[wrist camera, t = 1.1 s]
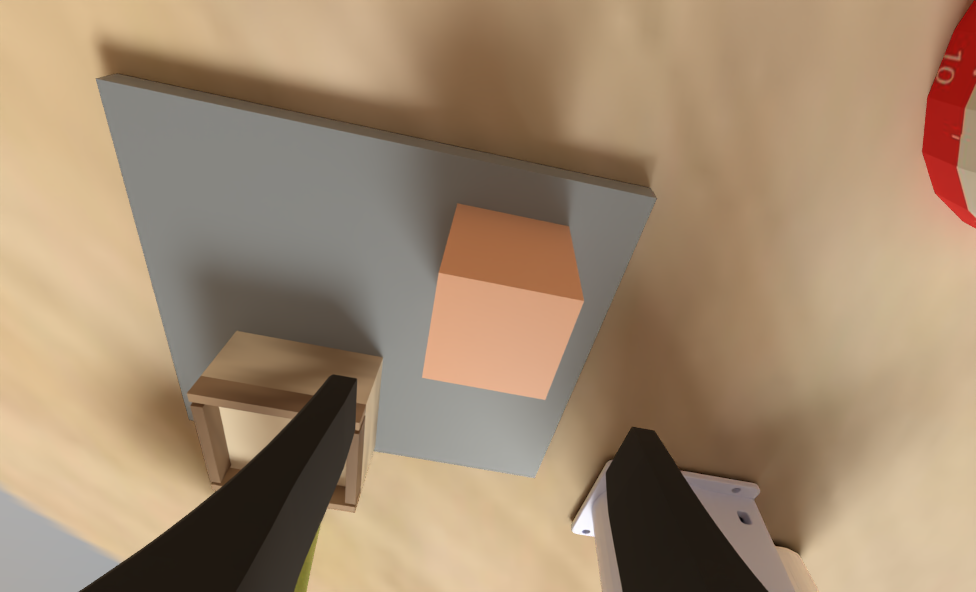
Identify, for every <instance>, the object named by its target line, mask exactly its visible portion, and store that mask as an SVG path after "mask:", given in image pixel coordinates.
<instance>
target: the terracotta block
mask: <svg viewBox="0 0 976 592" xmlns="http://www.w3.org/2000/svg"><path fill="white" fill-rule="evenodd" d="M583 303H584V298H583V293H582V288H581V283H580V278H579V273H578V268H577V263H576V258H575V253H574V248H573V243H572V238H571V233H570V228H569V226H565V225H560V224H555V223H551V222H546V221H541V220H536V219H531V218H526V217H522V216H517V215H512V214H507V213H502V212H497V211H492V210H488V209H483V208H478V207H473V206H468V205H463V204H459V203H457V207H456V210H455V214H454V218H453V222H452V225H451V229H450V233H449V236H448V240H447V244H446V247H445V251H444V255H443V259H442V262H441V266H440V270H439V274H438V280H437V286H436V293H435V299H434V305H433V311H432V318H431V324H430V330H429V336H428V343H427V349H426V355H425V361H424V368H423V374H422V378H426V379H432V380H437V381H443V382H448V383H454V384H459V385H465V386H470V387H476V388H482V389H487V390H493V391H498V392H504V393H509V394H515V395H520V396H526V397H532V398H537V399H543V400H545V399H546V397H547V394H548V392H549V389H550V387H551V384H552V381H553V379H554V376H555V374H556V371H557V369H558V366H559V364H560V361H561V359H562V356H563V354H564V351H565V348H566V346H567V343H568V341H569V338H570V336H571V333H572V331H573V328H574V326H575V323H576V321H577V318H578V315H579V313H580V310H581V308H582V305H583Z"/></svg>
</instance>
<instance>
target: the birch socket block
mask: <svg viewBox="0 0 976 592" xmlns="http://www.w3.org/2000/svg"><path fill="white" fill-rule="evenodd" d="M382 363H383V357H378V356H373V355H367V354H362V353H356V352H351V351H345V350H340V349H334V348H329V347H323V346H318V345H312V344H307V343H301V342H296V341H290V340H285V339H279V338H274V337H268V336H263V335H257V334H252V333H246V332H241V331H236V332H235V333H234V335H233V336H232V337H231V338H230V340H229V341H228V342H227V343H226V345H225V346H224V347H223V348H222V350H221V351H220V352H219V353H218V355H217V356H216V357H215V358H214V360H213V361H212V362H211V364H210V365H209V366H208V367H207V369H206V370H205V371H204V372H203V374H202V375H201V376H200V377H199V379H198V380H197V381H196V382H195V384H194V385H193V386H192V387H191V389H190V390H189V391H188V392H187V396H188V400H189V402H192V404H191V405H190V407H191V411H192V415H193V419H194V423H195V426H196V430H197V434H198V438H199V441H200V445H201V449H202V453H203V457H204V460H205V464H206V468H207V472H208V475H209V479H210V481H211V482H212V483H211V487H212V490H215V491H217V490H218V489H220V488H221V487H222V486H223V485H224V484H225V483H227V482H228V481H229V480H230V479H231V478H232V477H233V476H235V475H236V474H237V473H238V472H239V471H240V470H241V469H242V468H243V467H244V466H245V465H246V464H248V463H249V462H250V461H251V460H252V459H253V458H254V457H255V456H256V455H257V454H258V453H259V452H260V451H261V450H262V449H263V448H265V447H266V446H267V445H268V444H269V443H270V442H271V441H272V440H273V439H274V438H275V437H276V436H277V435H278V433H279V432H280V431H281V430H282V429H283V428H284V427H285V426H286V425H287V424H288V423H289V422H290V421H291V420H292V419H293V418H294V417H295V416H296V415H297V414H298V412H299V411H300V410H301V409H302V408H303V407H304V406H305V405H306V404H307V402H308V401H309V400H310V399H311V398H312V397H313V395H314V394H315V393H316V392H317V391H318V389H319V388H320V387H321V386H322V385H323V383H324V382H325V381H326V380H327V378H328V377H329V376H331V375H333V374H335V375H341V376H346V377H352V378H357V400H356V425H355V433H354V436H353V440H352V443H351V446H350V450H349V453H348V456H347V459H346V462H345V466H344V469H343V471H342V474H341V476H340V479H339V481H338V483H337V486H336V488H335V490H334V493H333V495H332V498H331V500H330V502H329V505H328V507H327V508H328V509H334V510H341V511H347V512H353V513H355V510H356V507H357V504H358V501H359V497H360V494H361V491H362V488H363V484H364V481H365V478H366V474H367V471H368V468H369V465H370V461H371V458H372V455H373V452H374V448H375V443H376V432H377V420H378V409H379V397H380V386H381V374H382Z"/></svg>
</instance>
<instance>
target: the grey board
mask: <svg viewBox="0 0 976 592" xmlns="http://www.w3.org/2000/svg"><path fill="white" fill-rule="evenodd" d="M96 81H97V85H98V89H99V92H100V96H101V100H102V103H103V107H104V111H105V114H106V118H107V122H108V125H109V129H110V133H111V136H112V140H113V143H114V147H115V151H116V154H117V158H118V162H119V165H120V169H121V173H122V176H123V180H124V184H125V187H126V191H127V195H128V198H129V202H130V206H131V209H132V213H133V217H134V220H135V224H136V228H137V231H138V235H139V239H140V242H141V246H142V249H143V253H144V257H145V260H146V264H147V268H148V271H149V275H150V279H151V282H152V286H153V290H154V293H155V297H156V301H157V304H158V308H159V312H160V315H161V319H162V323H163V326H164V330H165V334H166V337H167V341H168V345H169V348H170V352H171V356H172V359H173V363H174V366H175V370H176V374H177V377H178V381H179V385H180V388H181V392H182V396H183V399H184V403H185V407H186V410H187V414H188V418H189V420H192V421H194V419H193V415H192V411H191V407H190V405H191V404H192V402H189V400H188V396H187V392H188V391H189V390H190V389H191V387H192V386H193V385H194V384H195V382H196V381H197V380H198V379H199V377H200V376H201V375H202V374H203V372H204V371H205V370H206V369H207V367H208V366H209V365H210V364H211V362H212V361H213V360H214V358H215V357H216V356H217V355H218V353H219V352H220V351H221V350H222V348H223V347H224V346H225V345H226V343H227V342H228V341H229V340H230V338H231V337H232V336H233V335H234V333H235V332H236V331H241V332H246V333H252V334H257V335H263V336H268V337H274V338H279V339H285V340H290V341H296V342H301V343H307V344H312V345H318V346H323V347H329V348H334V349H340V350H345V351H351V352H356V353H362V354H367V355H373V356H378V357H383V363H382V374H381V386H380V397H379V409H378V420H377V432H376V443H375V448H374V451H377V452H383V453H389V454H395V455H401V456H406V457H412V458H418V459H424V460H430V461H436V462H442V463H448V464H454V465H460V466H466V467H472V468H478V469H484V470H490V471H496V472H502V473H508V474H514V475H519V476H525V477H531V478H535V476H536V474H537V471H538V469H539V467H540V465H541V462H542V460H543V458H544V455H545V453H546V451H547V449H548V446H549V444H550V442H551V439H552V437H553V435H554V433H555V430H556V428H557V426H558V423H559V421H560V419H561V417H562V414H563V412H564V410H565V407H566V405H567V403H568V401H569V398H570V396H571V394H572V391H573V389H574V387H575V385H576V382H577V380H578V378H579V375H580V373H581V371H582V369H583V366H584V364H585V362H586V359H587V357H588V355H589V352H590V350H591V348H592V346H593V343H594V341H595V339H596V336H597V334H598V332H599V330H600V327H601V325H602V323H603V320H604V318H605V316H606V314H607V311H608V309H609V307H610V304H611V302H612V300H613V298H614V295H615V293H616V291H617V288H618V286H619V284H620V282H621V279H622V277H623V275H624V272H625V270H626V268H627V266H628V263H629V261H630V259H631V256H632V254H633V252H634V250H635V247H636V245H637V243H638V240H639V238H640V236H641V234H642V231H643V229H644V227H645V224H646V222H647V220H648V218H649V215H650V213H651V211H652V208H653V206H654V204H655V202H656V199H657V198H656V196H655V194H654V193H653V191H652V190H651V188H648V187H643V186H639V185H634V184H629V183H625V182H620V181H615V180H611V179H606V178H601V177H597V176H592V175H587V174H583V173H578V172H573V171H569V170H564V169H559V168H555V167H550V166H545V165H541V164H536V163H531V162H527V161H522V160H517V159H513V158H508V157H503V156H499V155H494V154H489V153H485V152H480V151H475V150H471V149H466V148H462V147H457V146H452V145H448V144H443V143H438V142H434V141H429V140H424V139H420V138H415V137H410V136H406V135H401V134H396V133H392V132H387V131H382V130H378V129H373V128H368V127H364V126H359V125H354V124H350V123H345V122H340V121H336V120H331V119H326V118H322V117H317V116H312V115H308V114H303V113H298V112H294V111H289V110H284V109H280V108H275V107H270V106H266V105H261V104H256V103H252V102H247V101H242V100H238V99H233V98H229V97H224V96H219V95H215V94H210V93H205V92H201V91H196V90H191V89H187V88H182V87H177V86H173V85H168V84H163V83H159V82H154V81H149V80H145V79H140V78H135V77H131V76H126V75H121V74H113V75H109V76H105V77H100V78H96ZM457 203H459V204H463V205H468V206H473V207H478V208H483V209H488V210H492V211H497V212H502V213H507V214H512V215H517V216H522V217H526V218H531V219H536V220H541V221H546V222H551V223H555V224H560V225H565V226H569V228H570V233H571V238H572V243H573V248H574V253H575V258H576V263H577V268H578V273H579V278H580V283H581V288H582V293H583V298H584V303H583V305H582V308H581V310H580V313H579V315H578V318H577V321H576V323H575V326H574V328H573V331H572V333H571V336H570V338H569V341H568V343H567V346H566V348H565V351H564V354H563V356H562V359H561V361H560V364H559V366H558V369H557V371H556V374H555V376H554V379H553V381H552V384H551V387H550V389H549V392H548V394H547V397H546V399H545V400H543V399H537V398H532V397H526V396H520V395H515V394H509V393H504V392H498V391H493V390H487V389H482V388H476V387H470V386H465V385H459V384H454V383H448V382H443V381H437V380H432V379H426V378H422V374H423V368H424V361H425V355H426V349H427V343H428V336H429V330H430V324H431V318H432V311H433V305H434V299H435V293H436V286H437V280H438V274H439V270H440V266H441V262H442V259H443V255H444V251H445V247H446V244H447V240H448V236H449V233H450V229H451V225H452V222H453V218H454V214H455V210H456V207H457Z"/></svg>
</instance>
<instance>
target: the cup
mask: <svg viewBox="0 0 976 592" xmlns="http://www.w3.org/2000/svg"><path fill="white" fill-rule="evenodd" d="M775 548H776V550H777V552H778V554H779V556H780V559H781V561H782V563H783V565H784V568H785V570H786V572H787V574H788V577H789V579H790V581H791V583H792V585H793V588H794V590H795V592H819V590H818V588H817V586H816V585H815V583H814V581H813V579H812V577H811V575H810V573H809V572H808V570H807V568H806V566H805V564H804V562H803V560H802V559H801V557H800V556H799V554H798V553H796V552H794V551H792V550H790V549H788V548H784V547H777V546H775Z"/></svg>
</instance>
